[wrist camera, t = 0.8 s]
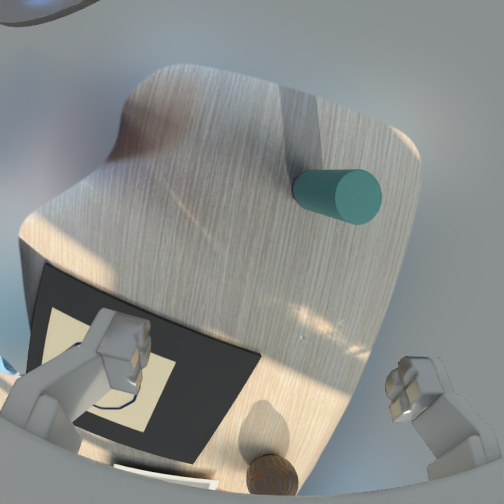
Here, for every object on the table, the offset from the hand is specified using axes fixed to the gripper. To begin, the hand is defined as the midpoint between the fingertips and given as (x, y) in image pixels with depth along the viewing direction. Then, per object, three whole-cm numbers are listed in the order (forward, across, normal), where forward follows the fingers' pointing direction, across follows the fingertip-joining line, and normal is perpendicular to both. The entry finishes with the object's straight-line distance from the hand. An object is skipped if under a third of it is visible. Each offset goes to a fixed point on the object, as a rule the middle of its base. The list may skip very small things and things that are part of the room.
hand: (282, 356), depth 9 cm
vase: (+9, -8, +37) cm, 39 cm away
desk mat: (+11, +11, +24) cm, 28 cm away
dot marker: (+22, -4, +2) cm, 22 cm away
